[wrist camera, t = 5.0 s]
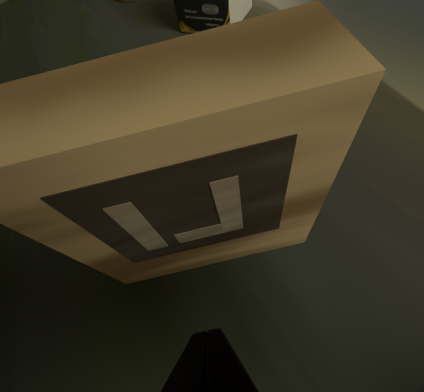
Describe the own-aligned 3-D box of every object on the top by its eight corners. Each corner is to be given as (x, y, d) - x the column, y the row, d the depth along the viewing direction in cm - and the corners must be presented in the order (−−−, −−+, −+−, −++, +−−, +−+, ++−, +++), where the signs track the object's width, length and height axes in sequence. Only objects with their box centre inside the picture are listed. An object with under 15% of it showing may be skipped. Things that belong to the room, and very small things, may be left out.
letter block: (305, 243, 16) (388, 71, 6) (126, 285, 17) (-78, 190, 6) (283, 191, 18) (318, 0, 8) (126, 229, 19) (-28, 91, 9)
